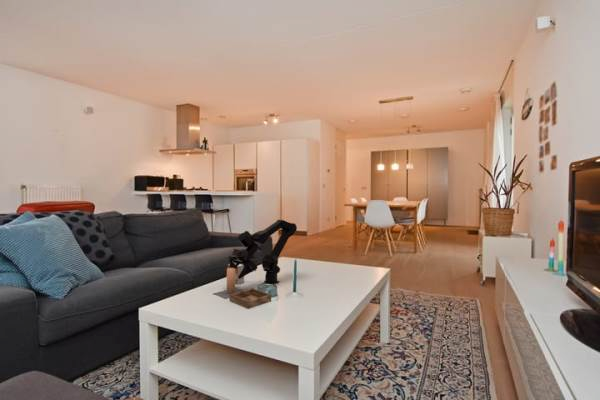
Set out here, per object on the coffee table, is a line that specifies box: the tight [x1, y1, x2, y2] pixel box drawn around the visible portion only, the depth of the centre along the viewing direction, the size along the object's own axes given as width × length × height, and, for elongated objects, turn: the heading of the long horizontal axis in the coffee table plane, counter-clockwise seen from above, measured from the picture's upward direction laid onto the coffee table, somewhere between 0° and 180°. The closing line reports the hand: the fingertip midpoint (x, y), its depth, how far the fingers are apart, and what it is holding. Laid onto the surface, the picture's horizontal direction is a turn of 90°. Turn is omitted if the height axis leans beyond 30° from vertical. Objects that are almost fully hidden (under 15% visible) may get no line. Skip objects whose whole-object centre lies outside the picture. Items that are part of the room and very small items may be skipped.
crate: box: [229, 288, 272, 310], centre depth 152 cm, size 14×14×4 cm
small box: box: [227, 264, 245, 286], centre depth 183 cm, size 8×6×10 cm
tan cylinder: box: [226, 267, 236, 294], centre depth 163 cm, size 4×4×12 cm
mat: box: [212, 287, 244, 300], centre depth 163 cm, size 14×11×1 cm
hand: (233, 276), depth 164 cm, fingers open, 9 cm apart
